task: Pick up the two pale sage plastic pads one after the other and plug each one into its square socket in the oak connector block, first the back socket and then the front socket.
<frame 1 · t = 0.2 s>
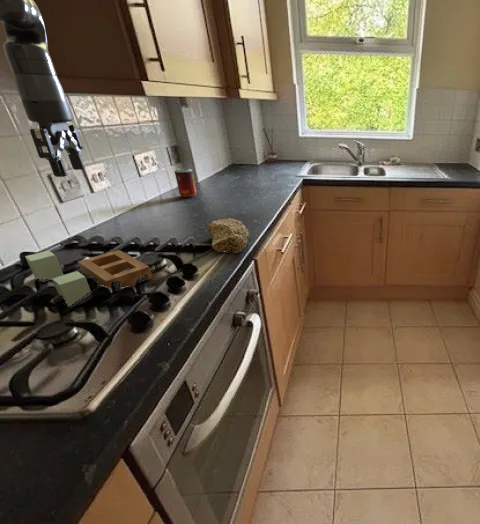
hand: (70, 172, 80), 24 cm above the worktop, tool pointing down, fingers open, 8 cm apart
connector: (117, 276, 84), on the worktop
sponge: (229, 243, 105), on the worktop
pad a: (49, 277, 82), on the worktop
soda can: (188, 196, 151), on the worktop
pad b: (78, 301, 73), on the worktop
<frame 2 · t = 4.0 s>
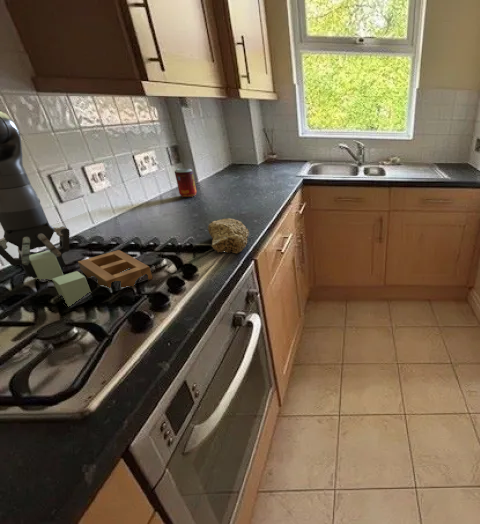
hand: (47, 272, 81), 1 cm above the worktop, tool pointing down, fingers closed on pad a, 4 cm apart
pad a: (49, 277, 82), on the worktop, touching gripper
everything else where it was.
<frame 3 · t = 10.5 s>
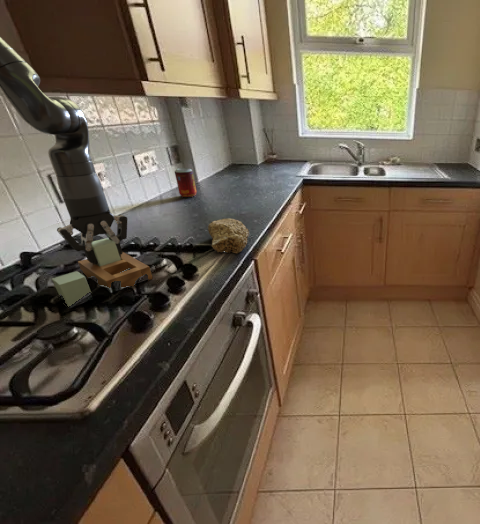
hand: (106, 259, 84), 4 cm above the worktop, tool pointing down, fingers closed on pad a, 4 cm apart
pad a: (108, 264, 84), point 2 cm above the worktop, touching gripper
everything else where it was.
when the fingers open (4 cm above the worktop, at t = 12.4 s): pad a drops 2 cm, resting in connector.
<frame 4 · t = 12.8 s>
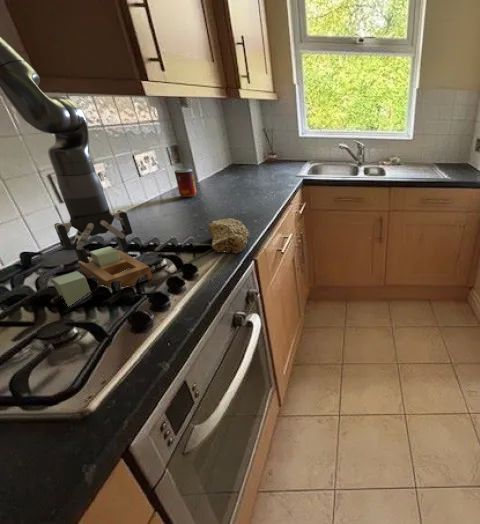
hand: (105, 256, 83), 4 cm above the worktop, tool pointing down, fingers open, 7 cm apart
pad a: (111, 272, 85), resting in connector
everything else where it was.
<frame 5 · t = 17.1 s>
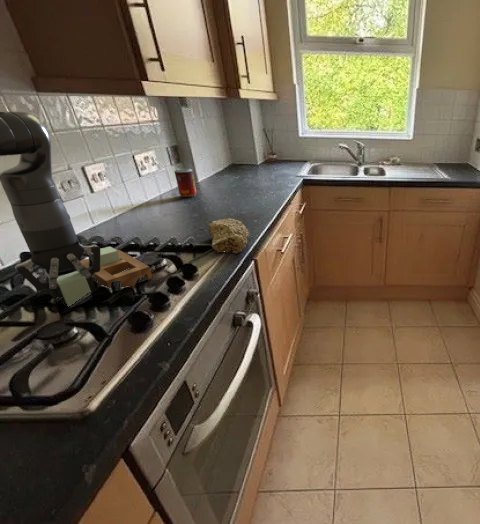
hand: (76, 296, 72), 1 cm above the worktop, tool pointing down, fingers closed on pad b, 4 cm apart
pad b: (78, 301, 73), on the worktop, touching gripper
everything else where it was.
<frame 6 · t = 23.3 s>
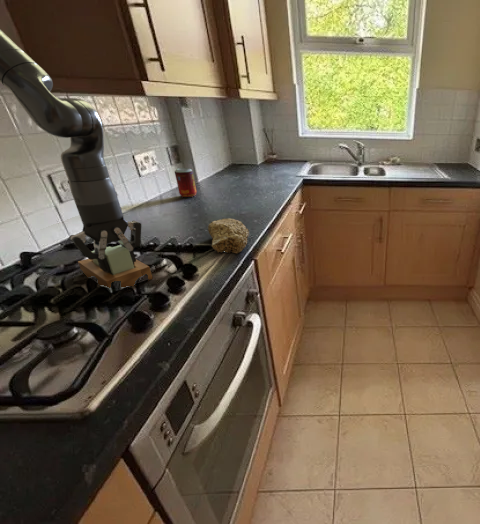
hand: (119, 267, 80), 4 cm above the worktop, tool pointing down, fingers closed on pad b, 4 cm apart
pad b: (121, 272, 81), point 2 cm above the worktop, touching gripper
everything else where it was.
when the fingers open (4 cm above the worktop, at t = 25.3 s): pad b drops 2 cm, resting in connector.
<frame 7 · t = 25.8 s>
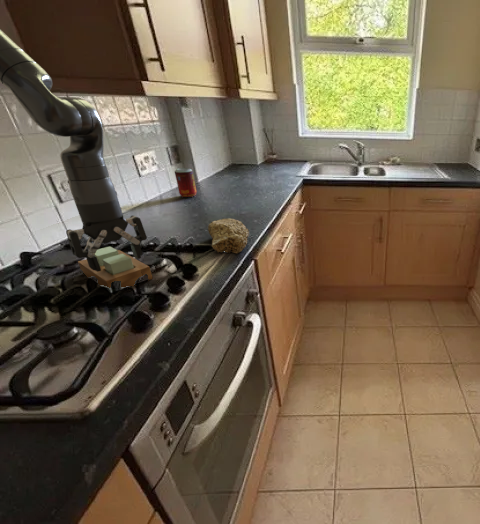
hand: (118, 264, 80), 5 cm above the worktop, tool pointing down, fingers open, 8 cm apart
pad b: (123, 280, 82), resting in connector
everything else where it was.
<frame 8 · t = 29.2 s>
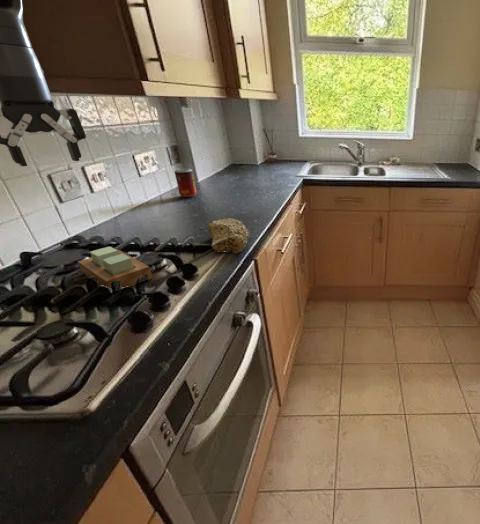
hand: (50, 163, 69), 28 cm above the worktop, tool pointing down, fingers open, 8 cm apart
nothing on the worktop moved.
at the end: pad a 0.0 cm from the target spot in the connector, point 0.0 cm above the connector's base; pad b 0.0 cm from the target spot in the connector, point 0.0 cm above the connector's base; pad b tilted 0° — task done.
